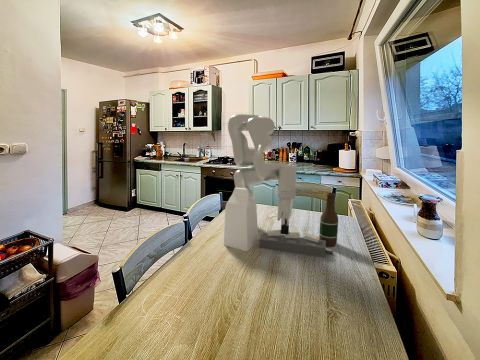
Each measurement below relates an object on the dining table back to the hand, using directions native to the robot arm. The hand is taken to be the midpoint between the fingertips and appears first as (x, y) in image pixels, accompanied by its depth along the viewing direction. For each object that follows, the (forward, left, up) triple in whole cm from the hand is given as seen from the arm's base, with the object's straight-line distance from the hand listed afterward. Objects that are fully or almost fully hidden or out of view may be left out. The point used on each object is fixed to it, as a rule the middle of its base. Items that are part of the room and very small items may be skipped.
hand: (284, 233), depth 113 cm
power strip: (+5, -1, -6) cm, 8 cm away
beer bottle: (+19, +9, -6) cm, 21 cm away
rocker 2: (+12, 0, -1) cm, 12 cm away
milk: (-19, -3, -6) cm, 21 cm away
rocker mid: (+4, 0, -1) cm, 4 cm away
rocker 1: (-4, 0, -1) cm, 5 cm away
